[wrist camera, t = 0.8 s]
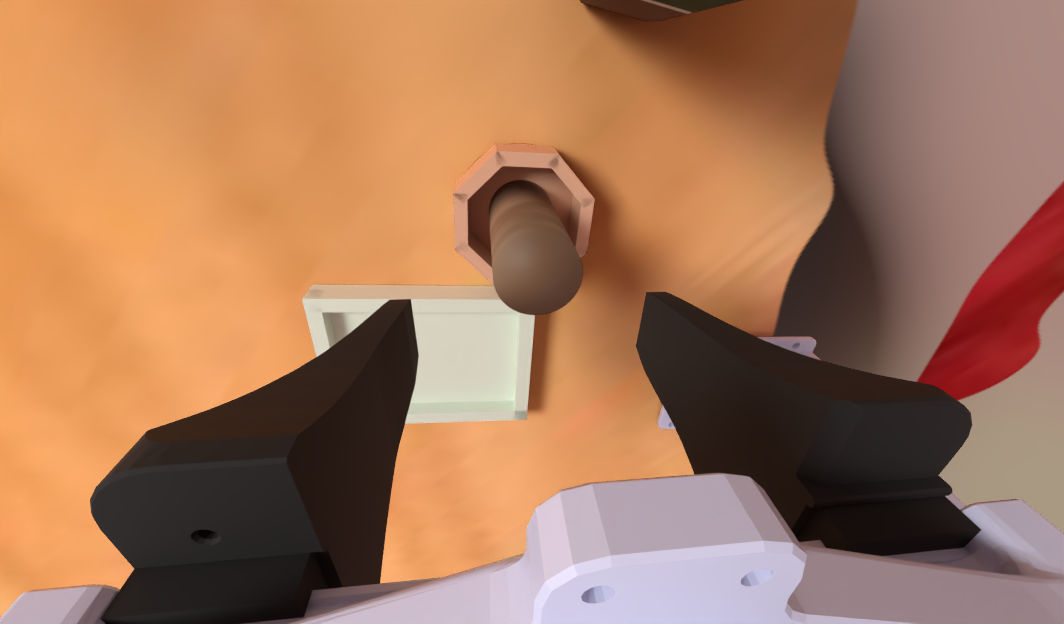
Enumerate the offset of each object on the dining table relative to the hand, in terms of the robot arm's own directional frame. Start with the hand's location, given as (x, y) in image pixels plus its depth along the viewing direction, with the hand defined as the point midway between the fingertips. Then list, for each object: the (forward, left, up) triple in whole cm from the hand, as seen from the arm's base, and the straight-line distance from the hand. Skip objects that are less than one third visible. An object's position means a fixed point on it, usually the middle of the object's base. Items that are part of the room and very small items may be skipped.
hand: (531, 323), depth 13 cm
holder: (0, -1, -10) cm, 10 cm away
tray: (+5, +8, -10) cm, 14 cm away
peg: (0, -1, -10) cm, 10 cm away
